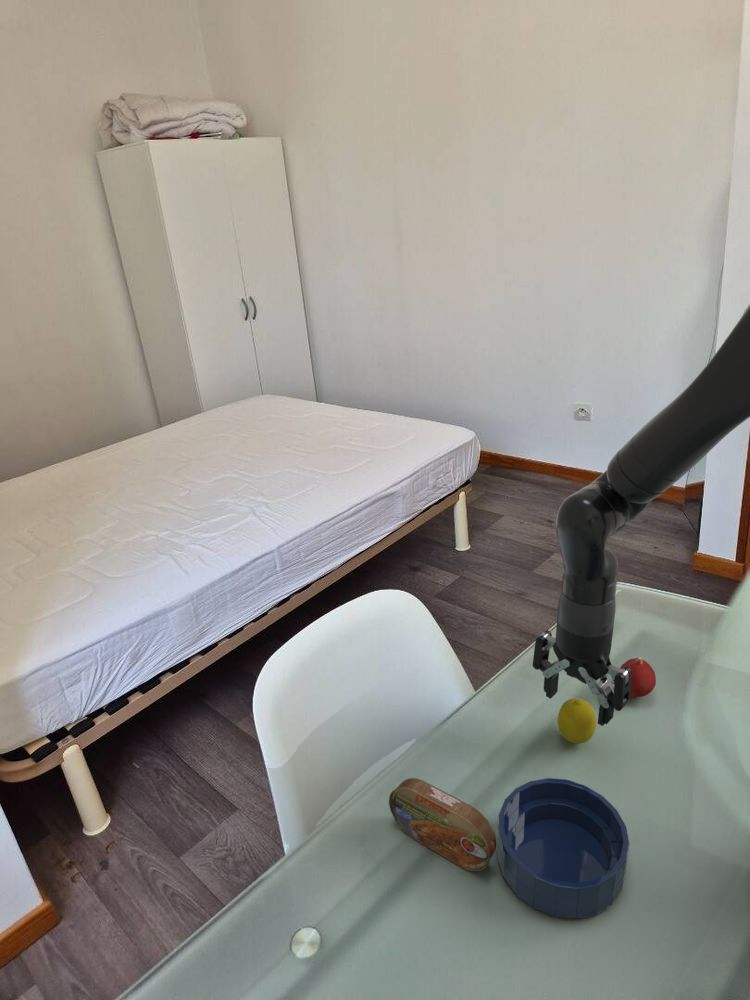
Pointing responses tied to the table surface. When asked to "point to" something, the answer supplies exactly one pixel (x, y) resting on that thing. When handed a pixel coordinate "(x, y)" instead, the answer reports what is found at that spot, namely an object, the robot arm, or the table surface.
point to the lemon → (577, 721)
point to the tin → (443, 824)
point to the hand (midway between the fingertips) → (576, 708)
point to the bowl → (562, 848)
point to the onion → (640, 677)
